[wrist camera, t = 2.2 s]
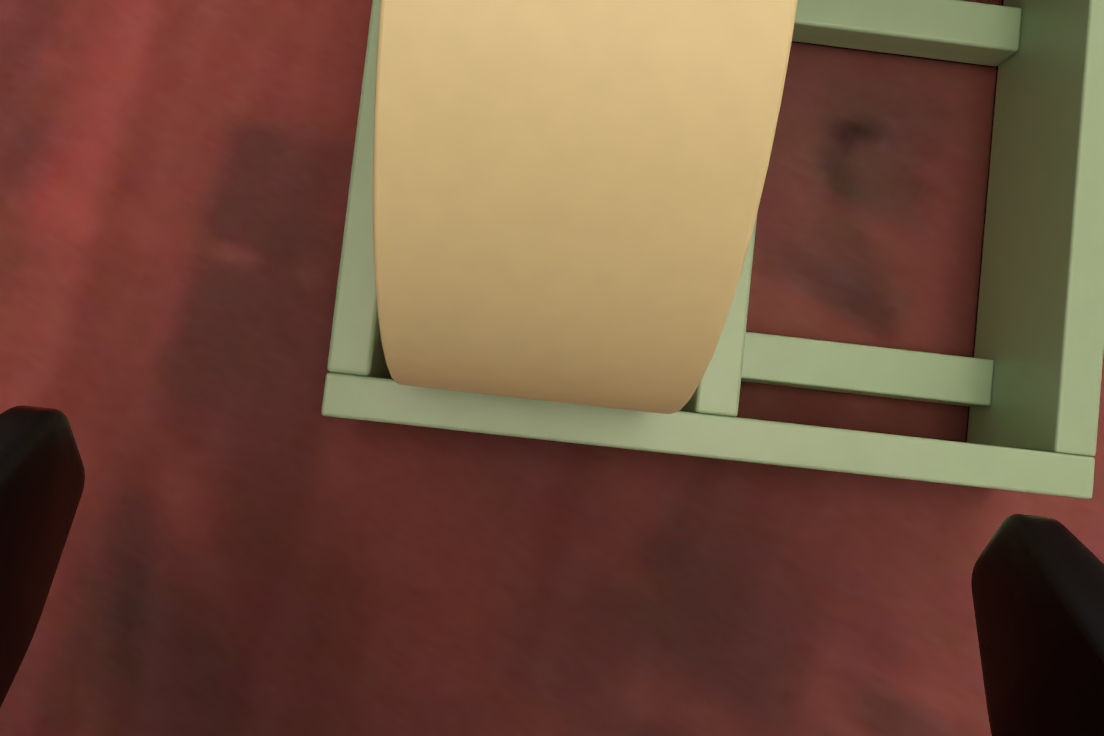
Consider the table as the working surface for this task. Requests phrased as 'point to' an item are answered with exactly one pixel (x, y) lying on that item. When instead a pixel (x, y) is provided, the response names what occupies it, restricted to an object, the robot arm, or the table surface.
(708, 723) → the table surface
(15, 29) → the table surface
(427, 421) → the green divided tray
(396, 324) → the masking tape roll
